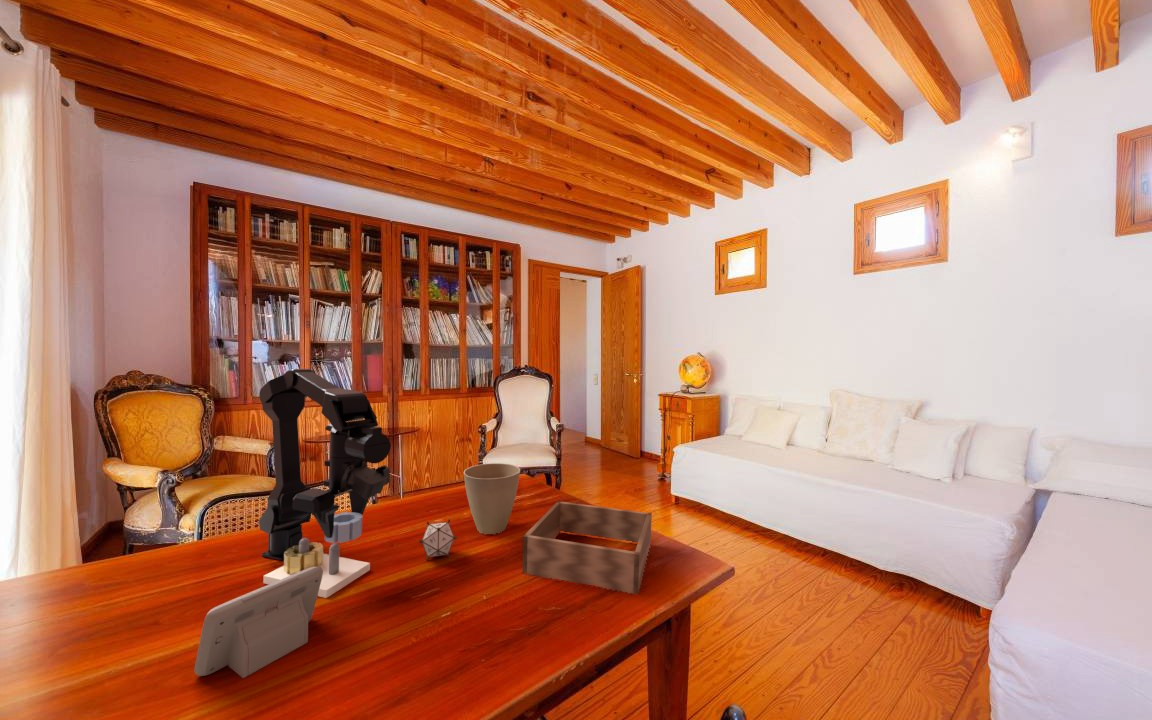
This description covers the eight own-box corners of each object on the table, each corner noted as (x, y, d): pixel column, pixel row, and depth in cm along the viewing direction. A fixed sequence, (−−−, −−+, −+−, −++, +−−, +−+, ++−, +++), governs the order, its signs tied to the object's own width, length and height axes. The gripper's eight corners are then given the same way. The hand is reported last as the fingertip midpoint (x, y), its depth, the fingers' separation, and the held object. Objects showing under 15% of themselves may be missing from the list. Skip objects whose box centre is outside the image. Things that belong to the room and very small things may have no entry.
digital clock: (313, 615, 74) (314, 556, 74) (332, 639, 69) (333, 574, 68) (190, 665, 62) (190, 594, 62) (200, 699, 56) (201, 620, 56)
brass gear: (277, 574, 85) (277, 557, 84) (295, 558, 91) (296, 542, 91) (312, 573, 85) (312, 556, 85) (327, 557, 92) (328, 541, 92)
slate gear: (316, 539, 83) (317, 522, 83) (343, 526, 89) (344, 510, 89) (343, 545, 81) (344, 527, 81) (368, 531, 88) (369, 515, 88)
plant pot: (492, 514, 123) (493, 460, 123) (530, 527, 114) (531, 469, 114) (450, 530, 111) (451, 471, 110) (489, 547, 102) (490, 482, 102)
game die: (441, 575, 95) (442, 553, 90) (410, 558, 97) (409, 535, 91) (463, 543, 102) (466, 520, 97) (434, 527, 104) (435, 503, 98)
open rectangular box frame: (522, 583, 90) (523, 536, 90) (556, 538, 112) (557, 501, 112) (637, 605, 83) (639, 554, 83) (650, 553, 105) (651, 513, 105)
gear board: (263, 583, 84) (263, 546, 84) (312, 558, 95) (312, 525, 94) (326, 598, 80) (326, 559, 79) (369, 569, 90) (370, 535, 90)
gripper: (340, 471, 74) (337, 559, 74) (409, 449, 92) (407, 519, 92) (291, 464, 77) (288, 548, 77) (368, 443, 95) (365, 511, 95)
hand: (343, 530), depth 85 cm, fingers closed on slate gear, 7 cm apart
